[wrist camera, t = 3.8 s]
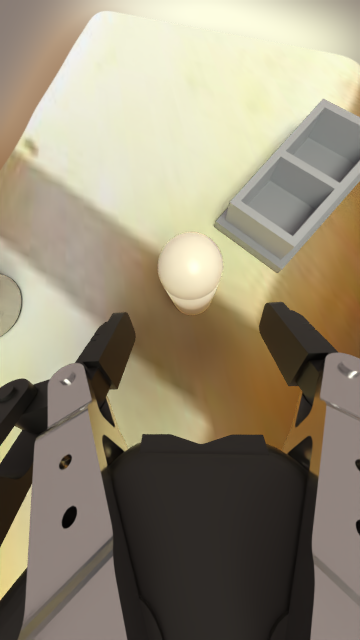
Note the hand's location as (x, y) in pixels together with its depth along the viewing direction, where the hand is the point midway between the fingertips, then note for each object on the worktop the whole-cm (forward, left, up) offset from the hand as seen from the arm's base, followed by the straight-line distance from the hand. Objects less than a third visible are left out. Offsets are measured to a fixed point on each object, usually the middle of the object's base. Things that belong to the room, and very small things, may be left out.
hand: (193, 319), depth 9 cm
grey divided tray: (-2, +20, -9) cm, 22 cm away
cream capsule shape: (-3, +3, -9) cm, 10 cm away
